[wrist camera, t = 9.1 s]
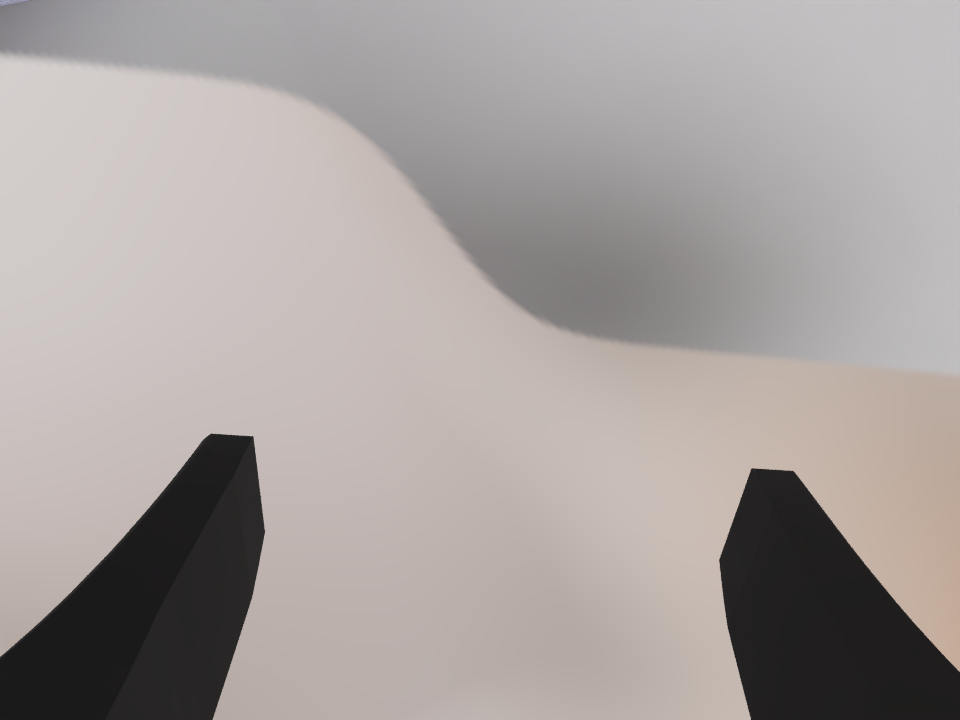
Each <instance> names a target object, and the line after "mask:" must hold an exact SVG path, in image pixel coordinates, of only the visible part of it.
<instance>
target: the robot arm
mask: <svg viewBox="0 0 960 720" xmlns="http://www.w3.org/2000/svg"><path fill="white" fill-rule="evenodd" d="M23 1H28V0H0V6H3V5H8V4H13V3H18V2H23ZM264 534H265V530H264V521H263V513H262V504H261V496H260V488H259V480H258V471H257V463H256V455H255V447H254V438H253V436H238V435H237V436H236V435H222V434H210V435H209V436H207V437H206V438H205V439H204V440H203V441H202V442H201V444H200V445H199V446H198V447H197V449H196V450H195V451H194V453H193V454H192V455H191V457H190V458H189V459H188V461H187V462H186V463H185V465H184V466H183V467H182V468H181V470H180V471H179V472H178V473H177V475H176V476H175V477H174V478H173V480H172V481H171V482H170V484H169V485H168V486H167V487H166V488H165V490H164V491H163V492H162V493H161V494H160V496H159V497H158V498H157V499H156V500H155V502H154V503H153V504H152V505H151V506H150V508H149V509H148V510H147V511H146V512H145V513H144V514H143V516H142V517H141V518H140V519H139V520H138V521H137V522H136V524H135V525H134V526H133V527H132V528H131V529H130V530H129V532H128V533H127V534H126V535H125V536H124V538H123V539H122V540H121V541H120V542H119V543H118V544H117V545H116V546H115V547H114V548H113V550H112V551H111V552H110V553H109V554H108V555H107V556H106V557H105V558H104V559H103V560H102V561H101V562H100V563H99V564H98V565H97V566H96V567H95V568H94V569H93V570H92V571H91V572H90V573H89V575H87V577H86V578H85V579H84V580H83V581H82V582H81V583H80V584H79V585H78V586H77V587H76V588H75V589H74V590H73V591H72V592H71V593H70V594H69V595H68V596H67V597H66V598H65V599H64V600H63V601H62V602H61V603H60V604H59V605H58V606H57V607H55V608H54V609H53V610H52V611H51V612H50V613H49V614H48V615H47V616H46V617H45V618H44V619H43V620H42V621H41V622H40V623H38V624H37V625H36V626H35V627H34V628H33V629H32V630H31V631H29V633H27V634H26V635H25V636H24V637H23V638H22V639H20V640H19V641H18V642H17V643H16V644H15V645H14V646H13V647H11V648H10V649H9V650H8V651H7V652H6V653H4V654H3V655H2V656H1V657H0V720H212V719H213V716H214V713H215V710H216V707H217V704H218V701H219V698H220V695H221V692H222V689H223V686H224V683H225V680H226V677H227V673H228V670H229V667H230V664H231V661H232V658H233V655H234V652H235V649H236V646H237V643H238V640H239V637H240V634H241V630H242V627H243V624H244V621H245V618H246V615H247V612H248V608H249V605H250V602H251V599H252V595H253V590H254V585H255V580H256V575H257V570H258V566H259V560H260V555H261V550H262V545H263V539H264ZM719 562H720V571H721V580H722V588H723V596H724V604H725V612H726V619H727V625H728V630H729V634H730V638H731V642H732V646H733V650H734V654H735V658H736V662H737V666H738V670H739V674H740V678H741V682H742V685H743V690H744V693H745V697H746V701H747V705H748V709H749V713H750V717H751V720H960V672H959V671H958V670H957V669H956V668H955V667H954V666H953V665H952V664H951V663H950V662H949V661H948V660H947V659H946V658H945V656H944V655H943V654H942V653H941V652H940V651H939V650H938V649H937V648H936V647H935V646H934V644H933V643H932V642H931V641H930V640H929V639H928V638H927V637H926V636H925V635H924V633H923V632H922V631H921V630H920V629H919V628H918V627H917V626H916V625H915V624H914V623H913V621H912V620H911V619H910V618H909V617H908V615H907V614H906V613H905V612H904V611H903V610H902V609H901V607H900V606H899V605H898V604H897V603H896V602H895V600H894V599H893V598H892V597H891V595H890V594H889V593H888V592H887V591H886V589H885V588H884V587H883V586H882V585H881V583H880V582H879V581H878V580H877V578H876V577H875V576H874V575H873V574H872V573H871V571H870V570H869V569H868V567H867V566H866V565H865V564H864V562H863V561H862V560H861V559H860V557H859V556H858V555H857V554H856V552H855V551H854V550H853V548H852V547H851V546H850V544H849V543H848V542H847V541H846V539H845V538H844V537H843V535H842V534H841V533H840V531H839V530H838V529H837V528H836V526H835V525H834V524H833V522H832V521H831V520H830V518H829V517H828V516H827V514H826V513H825V512H824V510H823V509H822V508H821V507H820V505H819V504H818V503H817V501H816V500H815V498H814V497H813V496H812V494H811V493H810V492H809V491H808V489H807V488H806V487H805V485H804V484H803V483H802V481H801V480H800V479H799V478H798V476H797V475H796V474H795V472H794V471H783V470H769V469H768V470H767V469H753V468H752V469H751V472H750V475H749V477H748V480H747V483H746V486H745V489H744V492H743V494H742V497H741V500H740V503H739V506H738V509H737V512H736V514H735V517H734V520H733V523H732V526H731V528H730V531H729V534H728V537H727V540H726V543H725V545H724V548H723V551H722V554H721V557H720V560H719Z"/></svg>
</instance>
